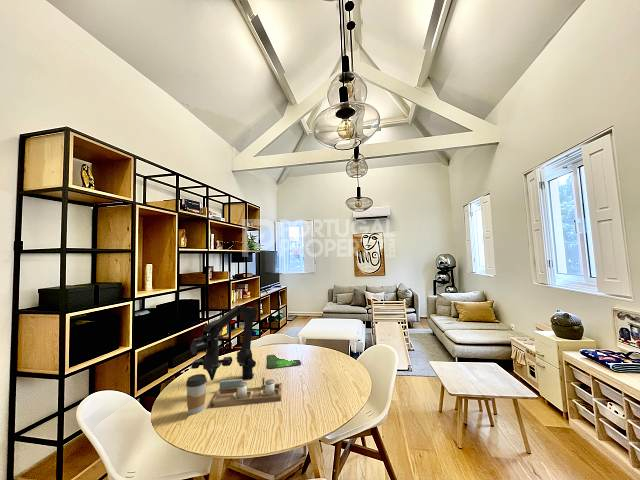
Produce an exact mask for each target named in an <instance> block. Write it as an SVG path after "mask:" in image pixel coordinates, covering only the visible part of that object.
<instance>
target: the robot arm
mask: <svg viewBox="0 0 640 480" xmlns="http://www.w3.org/2000/svg"><path fill="white" fill-rule="evenodd" d="M240 314H242V320H243V322H244V323H243V333H242V341H241V348H240V350H239V351H236V358H235V359H236V361H237V363H238V366H239V367H242V369H241V370H242V371H241V372H242V374H241V378H240V379H242V381H244V380H252V379H254V376H255V374H254V372H253V371H254V370H253V369H254V368H255V367H256V364H257V362H256V361H255V360H254V359H253V352H252V349H251V346H252V345H251V344H252V337H253V336H252V335H253V328H254V326H253V325H254V322H255V320H256V319H257V315H258V309H257V307H255V306H254V307H252V306H245V305H244V306H243V305H235V306H234V307H233V308H231V309H230V310H229V311H228V312H226V313H225V314H223V315H222V316H221V317H219V318H218V319H214V320H211V322H208V323H206V324H205V326H204V329H203V331H202V332H201V334H200V336H199V337H198V338H194V339H192V342H191V343H190V346H189V347H190V348H189V350H190V352H191V354H192V355H196V354H200V353H203V352H205V356H204V358H197V359H195V360H194V361H192V363H191V365H190V366H191V367H190V368H191V369H193V370H194V369H198V368H199V367H201V366H202V369H203V370H205V371H207V374H208V376H209V379H210V381H214V379H215V376H216V373H217V370H218V369H219V368H220V367H221V365H222V366H223V367H229V366H231V365H232V363H233V357H232V356H224V357H223V358H222V359H220V356H219V349H220V348H219V339H221V338H223V336H222V334H220V333H221V332H222V331H223V329H224V327H225V326H226V325H228V323H230V322H231V321H232V320H234V319H235V318H236V317H238V316H239V315H240Z"/></svg>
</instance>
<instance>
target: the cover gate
mask: <svg viewBox="0 0 640 480" xmlns="http://www.w3.org/2000/svg"><path fill="white" fill-rule="evenodd" d="M240 382H243V380H242V379H241V378H240V379H239V378H238V379H229V380H220V381H219V388H221V389H224V388H235V387H237V384H238V383H240Z"/></svg>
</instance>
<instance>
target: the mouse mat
mask: <svg viewBox="0 0 640 480" xmlns="http://www.w3.org/2000/svg"><path fill="white" fill-rule="evenodd" d="M298 365H299V366H301V365H302V361H301V359H300V360H293V361H292V360H291V361H288V360H285V359H279V358H277V357H276V356H275V355H274V354H267V355H266V369H268V370H272V369H280V368H290V367H297V366H298Z"/></svg>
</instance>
